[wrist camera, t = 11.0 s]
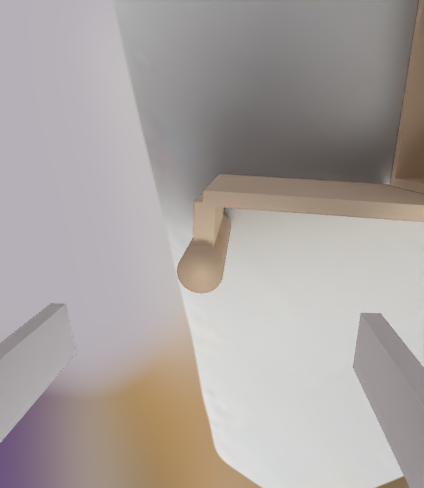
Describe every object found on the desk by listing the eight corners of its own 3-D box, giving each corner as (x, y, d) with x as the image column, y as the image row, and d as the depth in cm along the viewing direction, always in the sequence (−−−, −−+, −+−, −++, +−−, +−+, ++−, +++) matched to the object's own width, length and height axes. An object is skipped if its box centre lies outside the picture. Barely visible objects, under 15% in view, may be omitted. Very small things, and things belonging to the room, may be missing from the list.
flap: (204, 172, 24) (178, 188, 14) (391, 184, 23) (497, 210, 13) (201, 238, 26) (176, 290, 16) (374, 253, 24) (455, 318, 15)
